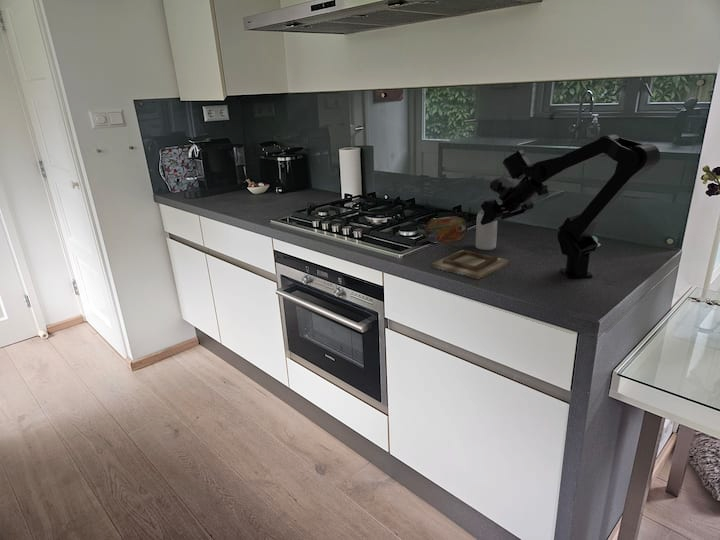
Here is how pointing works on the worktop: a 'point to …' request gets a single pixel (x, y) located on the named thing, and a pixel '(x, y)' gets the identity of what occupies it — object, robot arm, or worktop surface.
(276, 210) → the worktop surface
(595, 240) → the pacifier
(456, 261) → the base plate
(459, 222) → the tin
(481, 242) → the can
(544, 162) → the robot arm
